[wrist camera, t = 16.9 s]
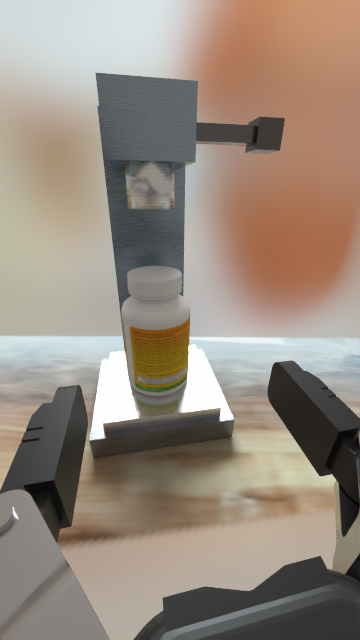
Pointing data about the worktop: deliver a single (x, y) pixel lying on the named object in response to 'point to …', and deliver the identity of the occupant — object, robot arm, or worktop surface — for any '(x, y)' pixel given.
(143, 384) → the supplement bottle
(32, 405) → the worktop surface
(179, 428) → the arbor press
